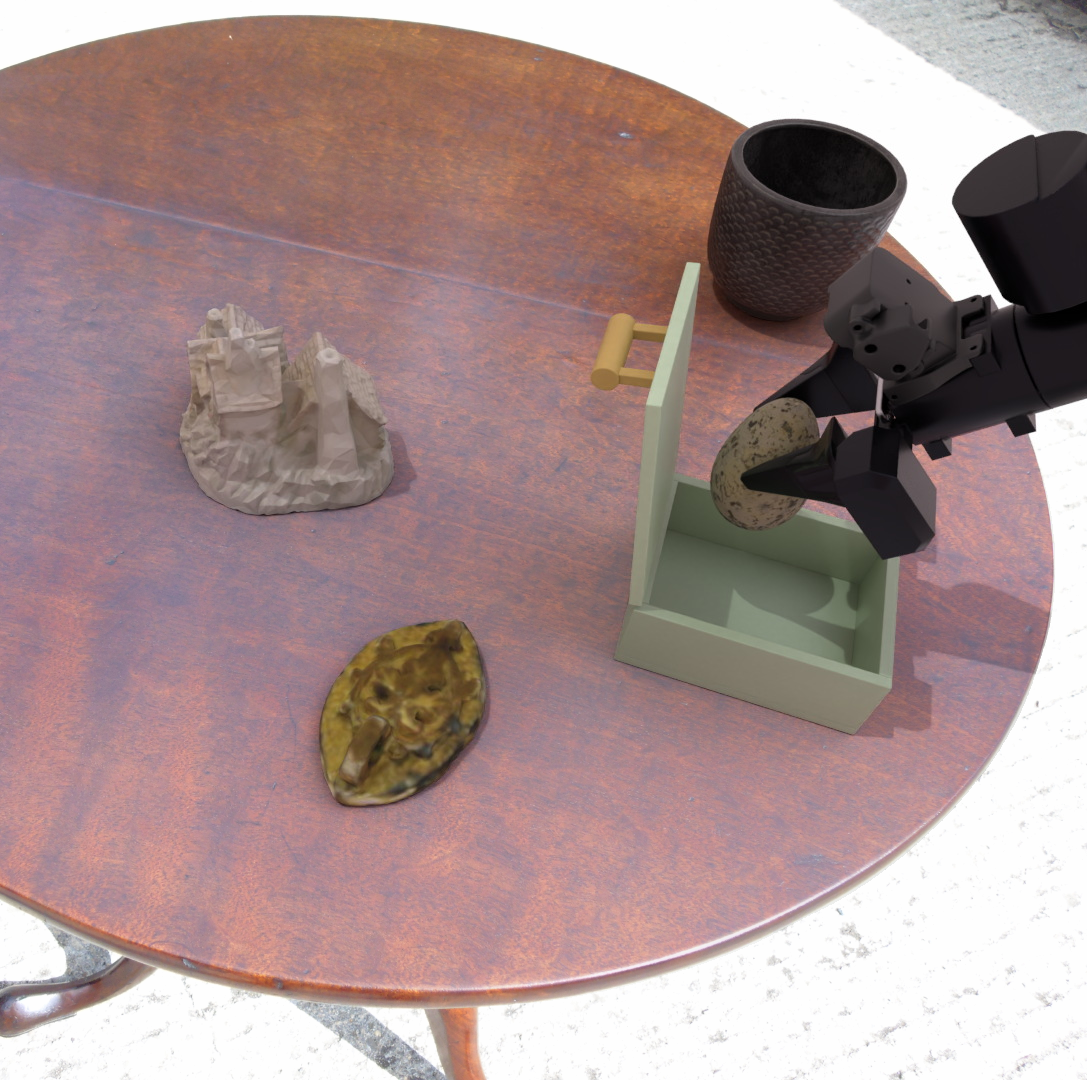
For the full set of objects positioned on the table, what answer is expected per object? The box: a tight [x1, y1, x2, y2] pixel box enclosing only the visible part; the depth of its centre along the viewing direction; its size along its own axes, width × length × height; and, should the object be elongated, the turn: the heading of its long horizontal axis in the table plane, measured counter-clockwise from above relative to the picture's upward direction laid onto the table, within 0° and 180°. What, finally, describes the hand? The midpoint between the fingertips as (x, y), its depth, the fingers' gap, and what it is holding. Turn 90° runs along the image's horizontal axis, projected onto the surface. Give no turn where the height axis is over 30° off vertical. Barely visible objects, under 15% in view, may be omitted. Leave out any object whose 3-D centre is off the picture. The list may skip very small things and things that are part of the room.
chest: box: [613, 471, 901, 736], centre depth 71 cm, size 16×13×6 cm
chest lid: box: [589, 261, 702, 606], centre depth 64 cm, size 16×13×4 cm
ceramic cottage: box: [178, 302, 395, 516], centre depth 77 cm, size 16×16×15 cm
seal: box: [318, 618, 487, 807], centre depth 66 cm, size 9×5×15 cm
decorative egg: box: [709, 398, 821, 531], centre depth 65 cm, size 6×6×10 cm
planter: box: [706, 118, 908, 322], centre depth 91 cm, size 14×14×13 cm
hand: (749, 448), depth 65 cm, fingers closed on decorative egg, 5 cm apart
